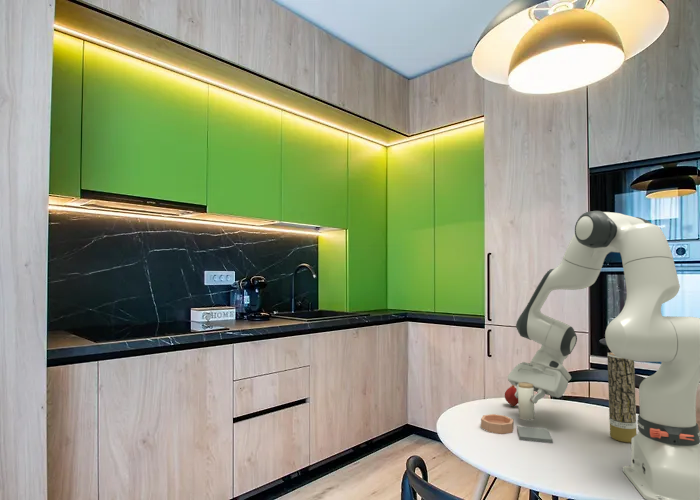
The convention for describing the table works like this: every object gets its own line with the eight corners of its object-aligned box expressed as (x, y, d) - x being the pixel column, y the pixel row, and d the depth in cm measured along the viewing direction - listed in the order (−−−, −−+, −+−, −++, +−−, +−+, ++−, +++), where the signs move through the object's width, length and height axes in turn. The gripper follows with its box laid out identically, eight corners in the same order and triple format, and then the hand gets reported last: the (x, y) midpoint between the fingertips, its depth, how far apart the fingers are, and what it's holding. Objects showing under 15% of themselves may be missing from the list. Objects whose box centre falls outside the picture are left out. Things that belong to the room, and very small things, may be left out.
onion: (501, 405, 163) (501, 383, 164) (512, 403, 166) (512, 382, 166) (513, 409, 158) (512, 387, 158) (524, 407, 160) (524, 385, 161)
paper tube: (641, 444, 126) (638, 357, 127) (615, 442, 127) (612, 356, 129) (631, 435, 133) (628, 352, 134) (606, 434, 134) (603, 352, 135)
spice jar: (534, 421, 139) (533, 386, 140) (518, 418, 142) (517, 384, 142) (535, 416, 144) (534, 382, 144) (519, 414, 146) (518, 381, 147)
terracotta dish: (511, 435, 133) (511, 426, 133) (479, 430, 137) (479, 421, 137) (514, 425, 142) (514, 417, 142) (484, 421, 146) (484, 412, 146)
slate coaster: (552, 443, 127) (552, 439, 127) (519, 439, 130) (519, 436, 130) (548, 432, 136) (547, 428, 136) (517, 429, 138) (517, 426, 138)
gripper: (515, 355, 156) (495, 386, 151) (566, 365, 138) (545, 401, 133) (524, 367, 158) (505, 398, 153) (576, 378, 140) (556, 414, 135)
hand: (524, 399), depth 143 cm, fingers closed on spice jar, 5 cm apart
